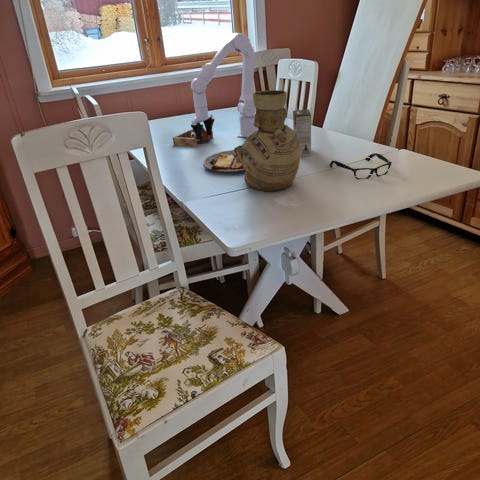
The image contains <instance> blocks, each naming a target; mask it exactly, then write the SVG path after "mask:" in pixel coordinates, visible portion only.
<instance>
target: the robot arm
mask: <svg viewBox="0 0 480 480" xmlns="http://www.w3.org/2000/svg"><path fill="white" fill-rule="evenodd" d="M236 51H237V52H238V53H239V54H240V55H241V57H242V70H241V72H242V73H241V92H240V93H241V95H240V96H239V102H238V104H237V111H238V112H239V128H240V130H239V131H240V134H238V135H237V138H238V137H239V138H248V137H249V136H250V135H251V134H253V132H254V131H258V127H255V126H254V125H253V124H254V116H255V114H256V108H255V105H254V101H253V93H254V75H255V74H254V73H255V56H256V55H255V49H254V47H253V46H252V43H251V39H250V38H249V37H248V36H247V35H246V34H245V33H243V32H232V33H231V34H230V35H229V36H228V38H226V39H225V40H224V42H223V43H222V45H221V46H220V48H219V49H218V51H217V52H216V53H215V55H214V57H213V58H212V59H211V61H210V62H208V63H205V64H203V65H202V66H201V70H200V71H199V72H198V74H196V75H195V76H194V77H195V78H193V79H192V80H191V82H190V89H191V90H192V99H193V107H194V113H195V116H194V117H193V118H192V120H191V124H190V127H191V128H192V129H193V130H194V132H195V134H196V136H197V139H198V140H202V128H203V127H204V129H205V130H206V132H207V135H211V134H212V131H213V125H214V124H215V121H216V120H215V118H213V116H214V114H213V113H209V111H208V102H207V95H206V94H207V93H206V91H207V85H208V84H209V83H210V82H211V81H212V79H213V78H214V77H215V75H216V74H217V68H218V66H219V65H220V64H221V63H222V61H223V60H224V59H225V58H226V56H227V55H229V54H230V53H233V52H236ZM202 122H203V124H202ZM199 123H200V124H199Z"/></svg>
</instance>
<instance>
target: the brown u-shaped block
mask: <svg viewBox="0 0 480 480" xmlns="http://www.w3.org/2000/svg"><path fill="white" fill-rule="evenodd" d="M191 131H192V129H188V130H187V131H184V132H182V133H179V134H177V135H176V136H174V137H173V136H172V141H173V142H172V143H173V146H181V147H182V146H183V147H196V148H197V147H198V142H197V139H195V138H189V137H190V133H191ZM205 131H206V129H205ZM213 133H214V132H213V130H212V134H211V135H209V137H210V139H214V134H213Z"/></svg>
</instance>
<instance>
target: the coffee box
mask: <svg viewBox="0 0 480 480" xmlns="http://www.w3.org/2000/svg"><path fill="white" fill-rule="evenodd" d="M292 126H293V127H292V130H294V132H295V133H296V135H297V137H298V141H299V146H300V157H307V156H310V157H311V156H312V114H311V111H310V109H298V110H292Z"/></svg>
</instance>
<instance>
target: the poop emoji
mask: <svg viewBox="0 0 480 480" xmlns="http://www.w3.org/2000/svg"><path fill="white" fill-rule="evenodd" d="M199 124H201V122H200V123H199ZM191 130H192V131H191V133H190V137H189V138H195V139H197V136H196V134H195V132H194V130H193V128H192V129H191ZM205 130H206V129H205V126H203V128H202V140H198V139H197V144H198V143H199V144H206V143H208V142H210V140H211V138H210V137H209V135H207V132H206V131H205Z"/></svg>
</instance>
